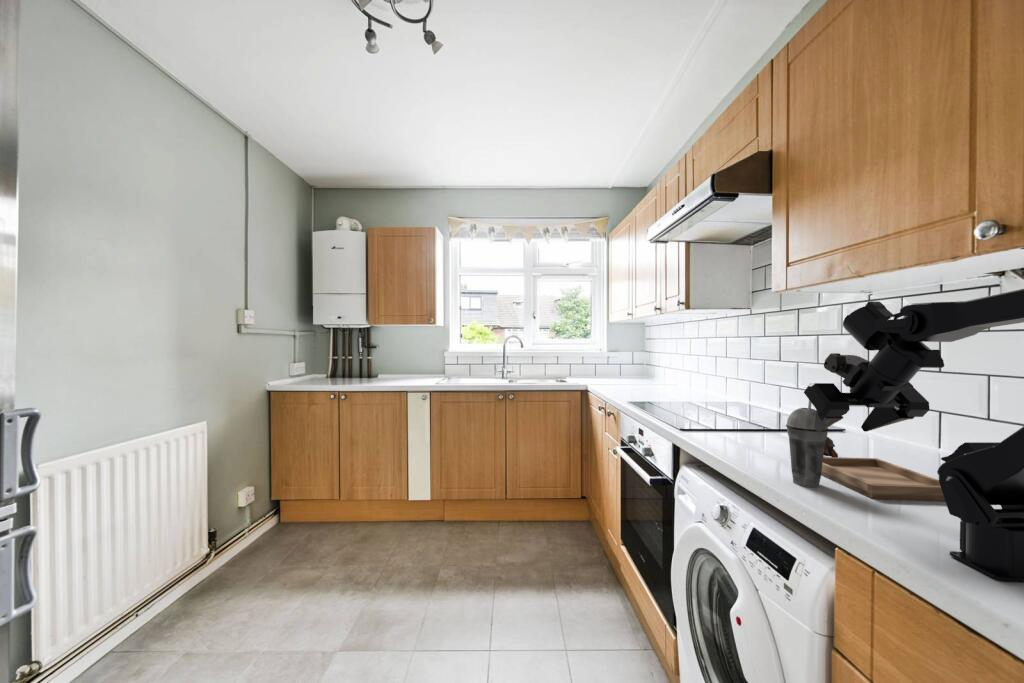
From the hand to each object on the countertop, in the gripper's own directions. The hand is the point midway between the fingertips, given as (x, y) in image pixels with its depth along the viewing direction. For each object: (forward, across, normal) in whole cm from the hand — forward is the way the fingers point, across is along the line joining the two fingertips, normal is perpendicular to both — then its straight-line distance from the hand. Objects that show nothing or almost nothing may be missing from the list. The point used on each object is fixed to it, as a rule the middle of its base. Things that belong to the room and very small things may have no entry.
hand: (840, 429), depth 81 cm
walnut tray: (+15, -15, +2) cm, 21 cm away
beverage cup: (+15, 0, +2) cm, 15 cm away
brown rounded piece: (+28, -16, -12) cm, 34 cm away
